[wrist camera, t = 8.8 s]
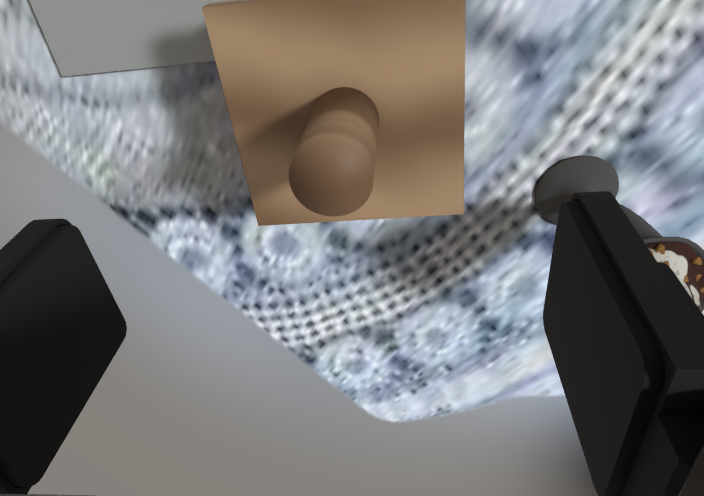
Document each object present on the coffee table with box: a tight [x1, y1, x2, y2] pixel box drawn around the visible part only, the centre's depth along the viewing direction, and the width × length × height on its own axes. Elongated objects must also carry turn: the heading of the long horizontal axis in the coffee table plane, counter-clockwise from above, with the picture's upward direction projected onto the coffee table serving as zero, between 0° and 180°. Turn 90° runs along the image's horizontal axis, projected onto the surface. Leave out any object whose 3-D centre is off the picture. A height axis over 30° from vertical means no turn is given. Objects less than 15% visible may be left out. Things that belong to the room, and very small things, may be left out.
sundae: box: [535, 156, 704, 312], centre depth 26 cm, size 7×7×15 cm
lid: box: [202, 0, 465, 226], centre depth 22 cm, size 11×11×7 cm
